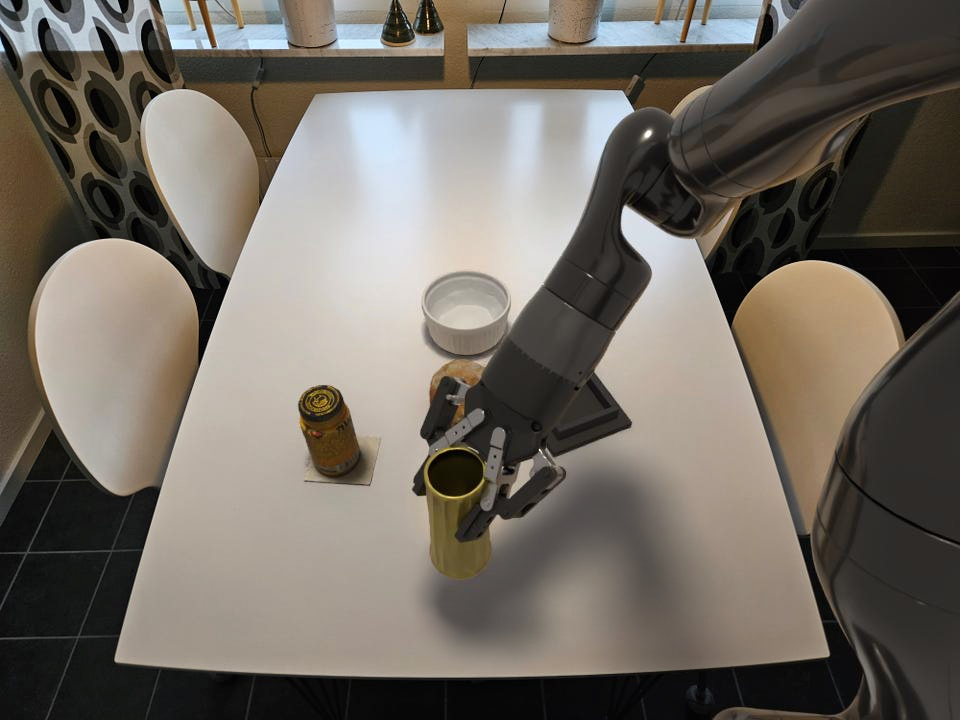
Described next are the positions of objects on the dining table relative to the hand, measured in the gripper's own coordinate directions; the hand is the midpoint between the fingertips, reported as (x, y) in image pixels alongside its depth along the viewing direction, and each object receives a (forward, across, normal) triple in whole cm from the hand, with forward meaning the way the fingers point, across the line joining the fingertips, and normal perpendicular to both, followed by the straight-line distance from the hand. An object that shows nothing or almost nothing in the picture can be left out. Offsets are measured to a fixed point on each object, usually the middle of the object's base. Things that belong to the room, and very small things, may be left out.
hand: (441, 515), depth 56 cm
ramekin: (-6, -32, +35) cm, 48 cm away
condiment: (+13, -24, +16) cm, 32 cm away
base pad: (-7, -10, +36) cm, 38 cm away
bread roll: (+1, -21, +28) cm, 35 cm away
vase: (+5, 0, +8) cm, 10 cm away
